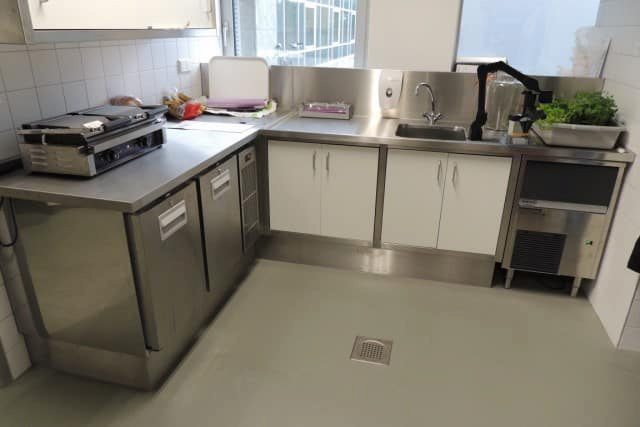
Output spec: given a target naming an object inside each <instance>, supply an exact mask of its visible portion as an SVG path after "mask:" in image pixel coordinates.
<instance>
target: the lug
mask: <svg viewBox="0 0 640 427" xmlns="http://www.w3.org/2000/svg"><path fill="white" fill-rule="evenodd" d="M527 137H528V139H527V140H528V144H533V143H534V140H535V135H532V134H531V135H527Z"/></svg>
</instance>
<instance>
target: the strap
mask: <svg viewBox="0 0 640 427" xmlns="http://www.w3.org/2000/svg"><path fill="white" fill-rule="evenodd" d="M506 134H507V133H506ZM506 134H504V135H503V136H504V137H505V135H506ZM510 135H511V137H513V136H521V137H524V136H528V135H532V134H531V132H528V133H525V134H524V133H523V132H522V133H514V134H510Z"/></svg>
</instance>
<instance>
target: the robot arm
mask: <svg viewBox="0 0 640 427" xmlns="http://www.w3.org/2000/svg"><path fill="white" fill-rule="evenodd" d="M498 70H500V71H502V72H504V73H506V74H507V75H509V76H511V77H512V78H514V79H515V80H517V81H518V82H520V84H521V85H523V86H524V87H525V88H526V89H525V88H524V90H522V91H520V94H521V95H524V97H523V104H521V107H522V110H521V112H520V113H518V114H520V115H518V114H517V113H509V114H508V116H507V120H508V121H510V120H511V121H519V123H520V125H521V128H522V133H524V134H525V133H529V131H530V129H531V128H532V126H533V124H534V123H537V122H538V121H539V120H542V121H545V119H546V118H547V119H548V115H547V113H545V110H544V109H540V110H539V109H538V107H537V106H538V105H536V104H537V102H538V104H541V105H544V104H546V105H552V103H553V99H554V97H553V96H554V90H553V89H541V87H540V86H539V80H538V78H536V77H535V76H534V77H533V76H532V75H528V74H524V73H523V72H521V71H519V70H518V69H516V68H514V67H513V66H511V65H509V64H508V63H506V62H505V61H504V60H498V61H495V62H490V63H480V64H479V65H478V66H477V68H476V73H477V74H476V75H477V82H478V91H477V92H478V95H477V96H478V98H477V110H476V114H475V119H474V120H473V121H472V122H471V123H470V124H469V125H470V126H469V128H468V135H467V137H466V139H468V140H470V141H483V134H484V131H483V128H482V127H484V126H485V125H486V124H487V122H488V121H489V111H487V110H486V100H487V98H486V97H487V95H486V94H487V81H488V77H489V73H490V72H493V71H498Z"/></svg>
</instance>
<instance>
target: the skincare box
mask: <svg viewBox="0 0 640 427" xmlns="http://www.w3.org/2000/svg"><path fill="white" fill-rule="evenodd" d="M520 114H521V113H518V115H520ZM507 129H508V130H507V134H514V133H523V131H522V128H521V125H520V123H519V121H511V120H509V123H508V128H507ZM519 137H521V138H522V136H519Z"/></svg>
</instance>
